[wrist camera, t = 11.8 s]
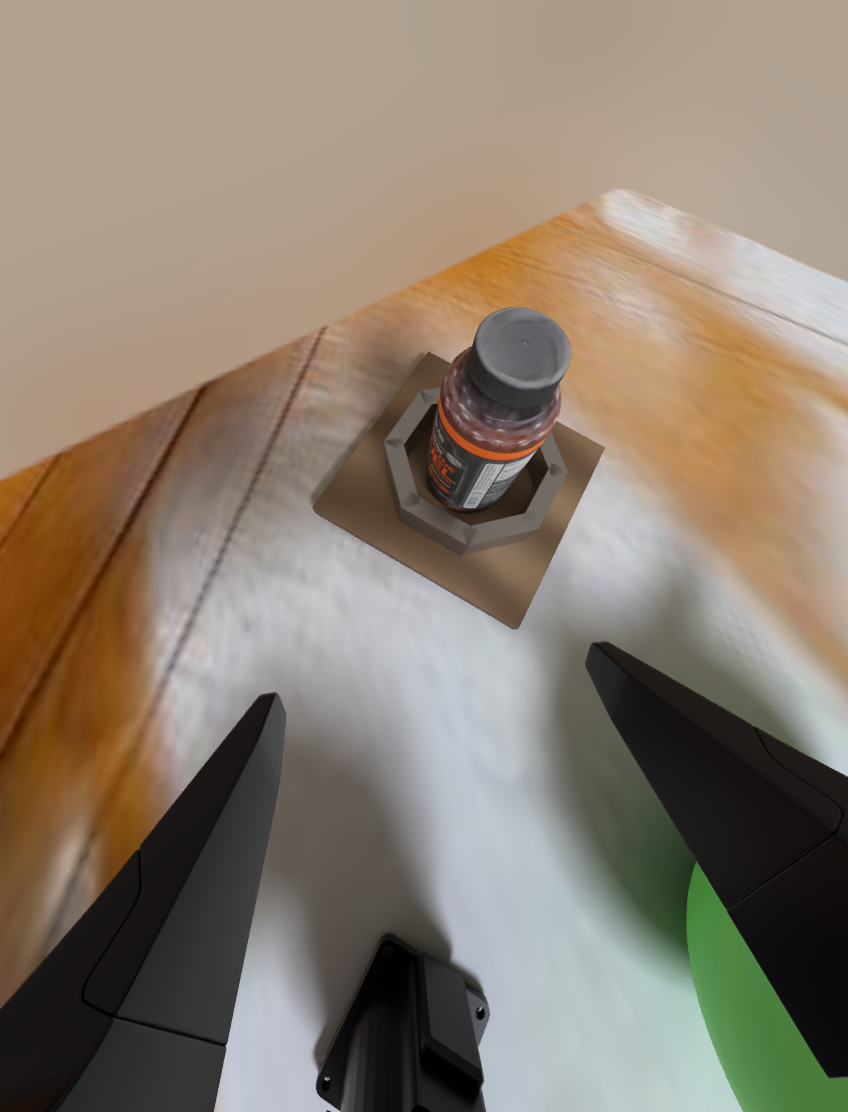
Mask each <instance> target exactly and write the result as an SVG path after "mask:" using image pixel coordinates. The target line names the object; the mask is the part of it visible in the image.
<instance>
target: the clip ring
mask: <svg viewBox="0 0 848 1112" xmlns="http://www.w3.org/2000/svg"><path fill="white" fill-rule="evenodd" d="M440 389H441V388H435V389H428V390H422V391H420V392H419V393H418V395H417V396H416V398H415V399H414V400H413V402H412V403H411V404H410V406H409V407H408V409H407V410H406V411H405V413H404V414H403V416H402V417H401V418H400V420H399V421H398V422H397V424H396V425H395V427H394V428H393V429H392V431H391V432H390V434H389V435H388V436H387V438H386V439H385V440H384V460H385V464H386V468H387V472H388V475H389V479H390V483H391V487H392V491H393V494H394V498H395V502H396V506H397V510H398V513H399V517H400V522H402V523H404V524H405V525H407V526H409V527H411V528H412V529H414V530H416V531H418V532H419V533H421V534H423V535H424V536H426V537H428V538H430V539H431V540H433V541H435V542H437V543H438V544H440V545H442V546H443V547H445V548H447V549H449V550H450V551H452V552H454V553H456V554H457V555H459V556H463V555H467V554H471V553H475V552H479V551H484V550H488V549H492V548H496V547H500V546H504V545H508V544H513V543H517V542H521V541H524V540H526V539H527V538H528V537H530V536H531V535H532V534H533V533H535V532H536V531H537V530H539V528H540V526H541V524H542V522H543V520H544V518H545V516H546V514H547V512H548V510H549V508H550V506H551V504H552V502H553V500H554V498H555V496H556V494H557V492H558V490H559V488H560V486H561V484H562V482H563V480H564V478H565V476H566V474H567V473H568V471H567V469H566V467H565V464H564V462H563V459H562V457H561V454H560V452H559V449H558V447H557V444H556V442H555V440H554V437H553V435H552V432H550V433H549V435H548V436H547V437H546V439H545V440H544V441H543V443H542V444H541V445H540V447H539V448H538V449H537V450H536V452H535V453H534V454H533V456H532V457H531V458H530V460H529V461H528V462H527V463H526V467H527V470H528V473H529V476H530V478H531V481H532V484H533V488H532V490H531V492H530V493H529V495H528V497H527V499H526V501H525V503H524V505H523V507H522V508H521V510H520V512H519V514H518V515H516V516H511V517H507V518H503V519H498V520H494V521H489V522H485V523H481V524H476V525H472V526H469V525H468V524H466V523H464V522H462V521H461V520H459V519H457V518H455V517H454V516H452V515H450V514H448V513H447V512H445V511H443V510H441V509H440V508H438V507H436V506H434V505H433V504H431V503H429V502H427V501H426V500H424V499H422V498H420V497H419V496H418V494H417V490H416V487H415V483H414V480H413V476H412V473H411V469H410V465H409V462H408V456H409V455H410V453H411V452H412V450H413V449H414V448H415V446H416V445H417V443H418V442H419V440H420V439H421V437H422V436H423V434H424V433H425V431H426V430H427V429H428V427H433V426H434V420H435V415H436V410H437V404H438V399H439V395H440Z"/></svg>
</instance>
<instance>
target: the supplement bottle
mask: <svg viewBox="0 0 848 1112" xmlns="http://www.w3.org/2000/svg"><path fill="white" fill-rule="evenodd" d="M570 358H571V347H570V344H569V340H568V338H567V336H566V334H565V332H564V331H563V330H562V329H561V328H560V326H559V325H558V324H557V323H556V322H555V321H554V320H552V319H551V318H549V317H548V316H547V315H545V314H542V313H541V312H538V311H535V310H532V309H529V308H523V307H508V308H504V309H500V310H498V311H495V312H494V313H491V314H490V315H489V316H487V317H486V318H485V319H484V320H483V321H482V322H481V324H480V325H479V327H478V329H477V332H476V335H475V338H474V342H473V345H472V347H469V348H468V349H466V350H464V351H463V352H461V353H460V354H459V355H458V356H457V357H456V358H455V359H454V360H453V362H452V363H451V364H450V365H449V367H448V369H447V371H446V373H445V376H444V379H443V382H442V385H441V389H440V395H439V399H438V404H437V410H436V415H435V420H434V426H433V431H432V436H431V441H430V446H429V450H428V456H427V461H426V478H427V483H428V486H429V488H430V490H431V491H432V493H433V495H434V496H435V497H436V498H437V499H438V500H439V501H440V502H441V503H442V504H444V505H445V506H447V507H448V508H450V509H453V510H456V511H460V512H478V511H481V510H484V509H486V508H488V507H490V506H491V505H493V504H494V503H495V502H496V501H497V500H498V499H499V498H500V497H501V496H502V495H503V494H504V492H505V491H506V489H507V488H508V487H509V486H510V484H511V483H512V482H513V480H514V479H515V478H516V477H517V475H518V474H519V473H520V471H521V470H522V469H523V468H524V466H525V465H526V463H527V462H528V461H529V460H530V458H531V457H532V456H533V454H534V453H535V452H536V450H537V449H538V448H539V447H540V445H541V444H542V443H543V441H544V440H545V439H546V437H547V436H548V435H549V433H550V432H551V430H552V428H553V427H554V425H555V424H556V422H557V419H558V416H559V413H560V409H561V391H560V386H559V383H560V381H561V379H562V378H563V376H564V374H565V373H566V371H567V369H568V367H569V364H570Z"/></svg>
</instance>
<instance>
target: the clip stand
mask: <svg viewBox="0 0 848 1112" xmlns="http://www.w3.org/2000/svg"><path fill="white" fill-rule="evenodd" d="M449 365H450V363H449V362H447V361H445V360H443V359H441V358H439V357H438V356H436V355H434V354H432V353H430V352H428V353H427V354H426V356H425V357H424V358H423V360H422V361H421V362H420V364H419V365H418V366H417V368H416V369H415V370H414V372H413V373H412V374H411V376H410V377H409V378H408V380H407V381H406V382H405V384H404V385H403V386H402V388H401V389H400V390H399V392H398V393H397V394H396V396H395V397H394V398H393V400H392V401H391V403H390V404H389V405H388V407H387V408H386V409H385V411H384V412H383V413H382V415H381V416H380V417H379V419H378V420H377V421H376V423H375V424H374V425H373V427H372V428H371V429H370V431H369V432H368V433H367V435H366V436H365V437H364V439H363V440H362V441H361V443H360V444H359V445H358V447H357V448H356V449H355V451H354V452H353V453H352V455H351V456H350V457H349V459H348V460H347V461H346V463H345V464H344V466H343V467H342V468H341V470H340V471H339V472H338V474H337V475H336V476H335V478H334V479H333V480H332V482H331V483H330V484H329V486H328V487H327V488H326V490H325V491H324V492H323V494H322V495H321V496H320V498H319V499H318V500H317V502H316V503H315V504H314V506H313V507H312V508H313V510H314V511H315V513H316V514H318V515H320V516H321V517H323V518H325V519H327V520H328V521H330V522H332V523H333V524H335V525H337V526H338V527H340V528H342V529H344V530H345V531H347V532H349V533H350V534H352V535H354V536H355V537H357V538H359V539H361V540H362V541H364V542H366V543H367V544H369V545H371V546H372V547H374V548H376V549H378V550H379V551H381V552H383V553H384V554H386V555H388V556H389V557H391V558H393V559H395V560H396V561H398V562H400V563H401V564H403V565H405V566H406V567H408V568H410V569H412V570H413V571H415V572H417V573H418V574H420V575H422V576H423V577H425V578H427V579H429V580H430V581H432V582H434V583H435V584H437V585H439V586H441V587H442V588H444V589H446V590H447V591H449V592H451V593H452V594H454V595H456V596H458V597H459V598H461V599H463V600H464V601H466V602H468V603H469V604H471V605H473V606H475V607H476V608H478V609H480V610H481V611H483V612H485V613H486V614H488V615H490V616H492V617H493V618H495V619H497V620H498V621H500V622H502V623H503V624H505V625H507V626H509V627H510V628H512V629H518V628H519V626H520V624H521V622H522V620H523V618H524V616H525V614H526V612H527V610H528V608H529V606H530V603H531V601H532V599H533V597H534V595H535V593H536V591H537V589H538V587H539V585H540V583H541V580H542V578H543V576H544V574H545V572H546V570H547V568H548V566H549V564H550V562H551V560H552V558H553V555H554V553H555V551H556V549H557V547H558V545H559V543H560V541H561V539H562V537H563V535H564V533H565V530H566V528H567V526H568V524H569V522H570V520H571V518H572V516H573V514H574V512H575V510H576V507H577V505H578V503H579V501H580V499H581V497H582V495H583V493H584V491H585V489H586V487H587V485H588V482H589V480H590V478H591V476H592V474H593V472H594V470H595V468H596V466H597V464H598V462H599V460H600V457H601V455H602V453H603V451H604V449H605V447H603V446H601V445H599V444H598V443H596V442H594V441H592V440H590V439H588V438H587V437H585V436H583V435H581V434H579V433H577V432H576V431H574V430H572V429H570V428H568V427H566V426H565V425H563V424H561V423H559V422H556V424H555V425H554V427H553V428H552V430H551V432H552V435H553V437H554V440H555V442H556V444H557V447H558V449H559V452H560V454H561V457H562V459H563V462H564V464H565V467H566V469H567V471H568V473H567V474H566V476H565V478H564V480H563V482H562V484H561V486H560V488H559V490H558V492H557V494H556V496H555V498H554V500H553V502H552V504H551V506H550V508H549V510H548V512H547V514H546V516H545V518H544V520H543V522H542V524H541V526H540V528H539V530H537V531H536V532H535V533H533V534H532V535H531V536H530V537H528V538H527V539H526V540H524V541H521V542H517V543H513V544H508V545H504V546H500V547H496V548H492V549H488V550H484V551H479V552H475V553H471V554H467V555H463V556H459V555H457V554H456V553H454V552H452V551H450V550H449V549H447V548H445V547H443V546H442V545H440V544H438V543H437V542H435V541H433V540H431V539H430V538H428V537H426V536H424V535H423V534H421V533H419V532H418V531H416V530H414V529H412V528H411V527H409V526H407V525H405V524H404V523H402V522H400V517H399V513H398V510H397V506H396V502H395V498H394V494H393V491H392V487H391V483H390V479H389V475H388V472H387V468H386V464H385V460H384V440H385V439H386V438H387V436H388V435H389V434H390V432H391V431H392V429H393V428H394V427H395V425H396V424H397V422H398V421H399V420H400V418H401V417H402V416H403V414H404V413H405V411H406V410H407V409H408V407H409V406H410V404H411V403H412V402H413V400H414V399H415V398H416V396H417V395H418V393H419V392H420V391H422V390H428V389H435V388H441V385H442V382H443V379H444V376H445V373H446V371H447V369H448V367H449ZM432 431H433V427H428V429H427V430H426V431H425V433H424V434H423V436H422V437H421V439H420V440H419V442H418V443H417V445H416V446H415V448H414V449H413V450H412V452H411V453H410V455H409V456H408V462H409V465H410V469H411V473H412V476H413V480H414V483H415V487H416V490H417V494H418V496H419V497H420V498H422V499H424V500H426V501H427V502H429V503H431V504H433V505H434V506H436V507H438V508H440V509H441V510H443V511H445V512H447V513H448V514H450V515H452V516H454V517H455V518H457V519H459V520H461V521H462V522H464V523H466V524H468V525H469V526H472V525H476V524H481V523H485V522H489V521H494V520H498V519H503V518H507V517H511V516H516V515H518V514H519V512H520V510H521V508H522V507H523V505H524V503H525V501H526V499H527V497H528V495H529V493H530V492H531V490H532V488H533V484H532V481H531V478H530V476H529V473H528V470H527V467H526V465H525V466H524V468H523V469H522V470H521V471H520V473H519V474H518V475H517V477H516V478H515V479H514V480H513V482H512V483H511V484H510V486H509V487H508V488H507V489H506V491H505V492H504V494H503V495H502V496H501V497H500V498H499V499H498V500H497V501H496V502H495V503H494V504H493V505H491V506H490V507H488V508H486V509H484V510H481V511H478V512H460V511H456V510H453V509H450V508H448V507H447V506H445V505H444V504H442V503H441V502H440V501H439V500H438V499H437V498H436V497H435V496H434V495H433V493H432V491H431V490H430V488H429V486H428V483H427V478H426V461H427V456H428V450H429V446H430V441H431V436H432Z"/></svg>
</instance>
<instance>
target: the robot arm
mask: <svg viewBox="0 0 848 1112" xmlns="http://www.w3.org/2000/svg"><path fill="white" fill-rule="evenodd" d="M585 664H586V669H587V671H588V673H589V675H590V677H591V679H592V682H593V684H594V686H595V688H596V690H597V692H598V694H599V696H600V698H601V700H602V702H603V704H604V706H605V709H606V711H607V713H608V714H609V716H610V718H611V720H612V722H613V724H614V725H615V727H616V729H617V730H618V732H619V734H620V735H621V737H622V739H623V740H624V742H625V744H626V745H627V747H628V749H629V750H630V752H631V754H632V755H633V757H634V759H635V760H636V762H637V763H638V765H639V767H640V768H641V770H642V772H643V773H644V775H645V777H646V778H647V780H648V782H649V783H650V785H651V787H652V788H653V790H654V792H655V793H656V795H657V797H658V798H659V800H660V802H661V803H662V805H663V807H664V808H665V810H666V812H667V813H668V815H669V816H670V818H671V820H672V821H673V823H674V825H675V826H676V828H677V830H678V831H679V833H680V835H681V836H682V838H683V840H684V841H685V843H686V845H687V846H688V848H689V850H690V851H691V853H692V855H693V856H694V858H695V860H696V861H697V863H698V865H699V866H700V868H701V870H702V871H703V873H704V874H705V876H706V878H707V879H708V881H709V883H710V884H711V886H712V888H713V889H714V891H715V893H716V894H717V896H718V898H719V899H720V901H721V903H722V904H723V906H724V907H725V908H726V911H727V913H728V915H729V916H730V918H731V920H732V921H733V923H734V925H735V926H736V928H737V930H738V931H739V933H740V935H741V936H742V938H743V940H744V941H745V943H746V945H747V946H748V948H749V949H750V951H751V953H752V954H753V956H754V958H755V959H756V961H757V963H758V964H759V966H760V968H761V969H762V971H763V973H764V974H765V976H766V978H767V979H768V981H769V983H770V984H771V986H772V988H773V989H774V991H775V993H776V994H777V996H778V997H779V999H780V1001H781V1002H782V1004H783V1006H784V1007H785V1009H786V1011H787V1012H788V1014H789V1016H790V1017H791V1019H792V1021H793V1022H794V1024H795V1026H796V1027H797V1029H798V1031H799V1032H800V1034H801V1036H802V1037H803V1039H804V1041H805V1042H806V1044H807V1045H808V1047H809V1049H810V1050H811V1052H812V1054H813V1055H814V1057H815V1059H816V1060H817V1062H818V1063H819V1065H820V1067H821V1068H822V1069H823V1071H824V1072H825V1074H826V1075H827V1077H828V1078H829V1079H838V1078H848V776H846V775H844V774H842V773H840V772H838V771H836V770H834V769H832V768H830V767H828V766H826V765H824V764H823V763H821V762H819V761H817V760H815V759H813V758H811V757H809V756H807V755H805V754H804V753H802V752H800V751H798V750H796V749H795V748H793V747H791V746H789V745H787V744H786V743H784V742H782V741H780V740H778V739H777V738H775V737H773V736H771V735H769V734H768V733H766V732H764V731H763V730H761V729H759V728H757V727H755V726H752V725H751V724H750V723H748V722H747V721H745V720H743V719H741V718H740V717H738V716H736V715H734V714H733V713H731V712H729V711H727V710H726V709H724V708H722V707H721V706H719V705H717V704H715V703H714V702H712V701H710V700H708V699H707V698H705V697H703V696H701V695H700V694H698V693H696V692H694V691H693V690H691V689H689V688H687V687H686V686H684V685H682V684H680V683H679V682H677V681H675V680H673V679H672V678H670V677H668V676H666V675H665V674H663V673H661V672H659V671H658V670H656V669H654V668H653V667H651V666H649V665H647V664H646V663H644V662H642V661H640V660H639V659H637V658H635V657H633V656H632V655H630V654H628V653H626V652H625V651H623V650H621V649H619V648H618V647H616V646H614V645H612V644H611V643H609V642H606V641H600V642H594V643H592V644H591V645H590V648H589V651H588V655H587V658H586V662H585ZM285 724H286V712H285V709H284V706H283V704H282V702H281V699H280V697H279V695H278V693H276V692H273V693H266V694H262V695H260V696H259V697H258V698H257V699H256V700H255V702H254V703H253V704H252V706H251V707H250V708H249V709H248V711H247V712H246V713H245V714H244V716H243V717H242V718H241V719H240V721H239V722H238V723H237V724H236V726H235V727H234V728H233V729H232V731H231V732H230V733H229V734H228V736H227V737H226V738H225V739H224V741H223V742H222V743H221V744H220V746H219V747H218V748H217V749H216V751H215V752H214V753H213V754H212V756H211V757H210V758H209V760H208V761H207V762H206V763H205V765H204V766H203V767H202V768H201V770H200V771H199V772H198V773H197V775H196V776H195V777H194V778H193V780H192V781H191V782H190V783H189V785H188V786H187V787H186V788H185V790H184V791H183V792H182V793H181V795H180V796H179V797H178V798H177V800H176V801H175V802H174V803H173V805H172V806H171V807H170V808H169V810H168V811H167V812H166V814H165V815H164V816H163V817H162V819H161V820H160V821H159V822H158V824H157V825H156V826H155V827H154V829H153V830H152V831H151V832H150V834H149V835H148V836H147V837H146V839H145V840H144V841H143V842H142V844H141V845H140V850H139V849H138V850H136V851H135V852H134V853H133V855H132V856H131V857H130V858H129V860H128V861H127V862H126V864H125V865H124V866H123V867H122V869H121V870H120V871H119V872H118V874H117V875H116V876H115V877H114V878H113V880H112V881H111V882H110V883H109V884H108V886H107V887H106V888H105V889H104V891H103V892H102V893H101V894H100V895H99V897H98V898H97V899H96V900H95V902H94V903H93V904H92V905H91V906H90V908H89V909H88V910H87V911H86V912H85V913H84V914H83V916H82V917H81V918H80V919H79V920H78V921H77V923H76V924H75V925H74V926H73V927H72V928H71V929H70V931H69V932H68V933H67V934H66V935H65V936H64V938H63V939H62V940H61V941H60V942H59V943H58V944H57V946H56V947H55V948H54V949H53V950H52V951H51V952H50V953H49V955H48V956H47V957H46V958H45V959H44V960H43V961H42V962H41V964H40V965H39V966H38V967H37V968H36V969H35V970H34V971H33V973H32V974H31V975H30V976H29V977H28V978H27V979H26V980H25V982H24V983H23V984H22V985H21V986H20V987H19V988H18V989H17V991H16V992H15V993H14V994H13V995H12V996H11V997H10V998H9V1000H8V1001H7V1002H6V1003H5V1004H4V1005H3V1006H2V1007H1V1009H0V1112H214V1108H215V1103H216V1098H217V1093H218V1088H219V1083H220V1078H221V1073H222V1068H223V1063H224V1058H225V1053H226V1044H227V1042H228V1037H229V1032H230V1027H231V1022H232V1017H233V1012H234V1007H235V1002H236V997H237V992H238V987H239V982H240V977H241V972H242V967H243V962H244V958H245V953H246V948H247V943H248V938H249V933H250V928H251V923H252V918H253V913H254V908H255V903H256V898H257V893H258V888H259V883H260V878H261V873H262V868H263V863H264V858H265V853H266V848H267V843H268V838H269V833H270V828H271V824H272V819H273V814H274V809H275V804H276V799H277V794H278V788H279V783H280V775H281V766H282V755H283V745H284V734H285ZM386 946H390V947H391V948H392V949H391V950H390V951H385V950H384V948H385V947H386ZM478 1007H482V1010H481V1011H479V1012H478V1011H476V1009H477V1008H478ZM489 1015H490V1012H489V1006H488V1002H487V999H486V997H485V996H484V995H483V994H482V993H480V992H479V991H477V990H476V989H474V988H473V987H471V986H470V985H468V984H467V983H465V982H464V979H463V977H461V976H460V975H458V974H457V973H455V972H454V971H452V970H451V969H449V968H448V967H446V966H445V965H443V964H442V963H440V962H439V961H437V960H436V959H434V958H433V957H431V956H430V955H428V954H427V953H425V952H418V951H417V950H415V949H414V948H412V947H411V946H409V945H408V944H406V943H405V942H403V941H402V940H400V939H399V938H397V937H396V936H394V935H393V934H390V933H389V934H385V935H383V936H382V938H381V939H380V941H379V943H378V945H377V947H376V949H375V951H374V953H373V955H372V958H371V960H370V962H369V964H368V966H367V968H366V970H365V972H364V975H363V977H362V979H361V981H360V983H359V985H358V987H357V989H356V992H355V994H354V996H353V998H352V1000H351V1002H350V1004H349V1006H348V1008H347V1011H346V1013H345V1015H344V1017H343V1019H342V1021H341V1023H340V1025H339V1028H338V1030H337V1032H336V1034H335V1036H334V1038H333V1040H332V1042H331V1044H330V1047H329V1049H328V1051H327V1053H326V1055H325V1057H324V1059H323V1061H322V1064H321V1066H320V1068H319V1071H318V1076H317V1081H316V1090H317V1093H318V1095H319V1096H320V1097H321V1098H322V1099H324V1100H325V1101H327V1102H328V1103H329V1104H331V1105H332V1106H334V1107H335V1108H337V1109H338V1110H339V1111H341V1112H486V1109H485V1103H484V1098H483V1093H482V1085H483V1083H484V1075H483V1070H482V1065H481V1060H480V1055H479V1050H478V1046H479V1044H480V1041H481V1038H482V1036H483V1033H484V1030H485V1028H486V1025H487V1022H488V1020H489ZM325 1077H330V1078H331V1080H328V1081H327V1080H325V1079H324V1078H325ZM326 1112H331V1111H328V1110H327V1111H326Z"/></svg>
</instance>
